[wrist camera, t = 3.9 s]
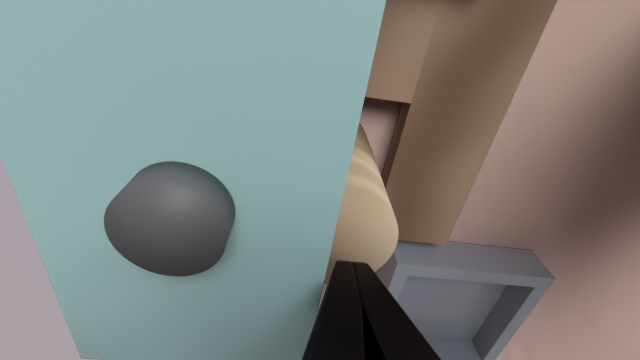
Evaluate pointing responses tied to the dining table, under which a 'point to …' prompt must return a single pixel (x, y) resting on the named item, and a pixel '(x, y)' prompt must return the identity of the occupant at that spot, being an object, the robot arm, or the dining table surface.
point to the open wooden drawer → (447, 98)
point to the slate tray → (465, 294)
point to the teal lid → (184, 164)
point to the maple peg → (364, 214)
